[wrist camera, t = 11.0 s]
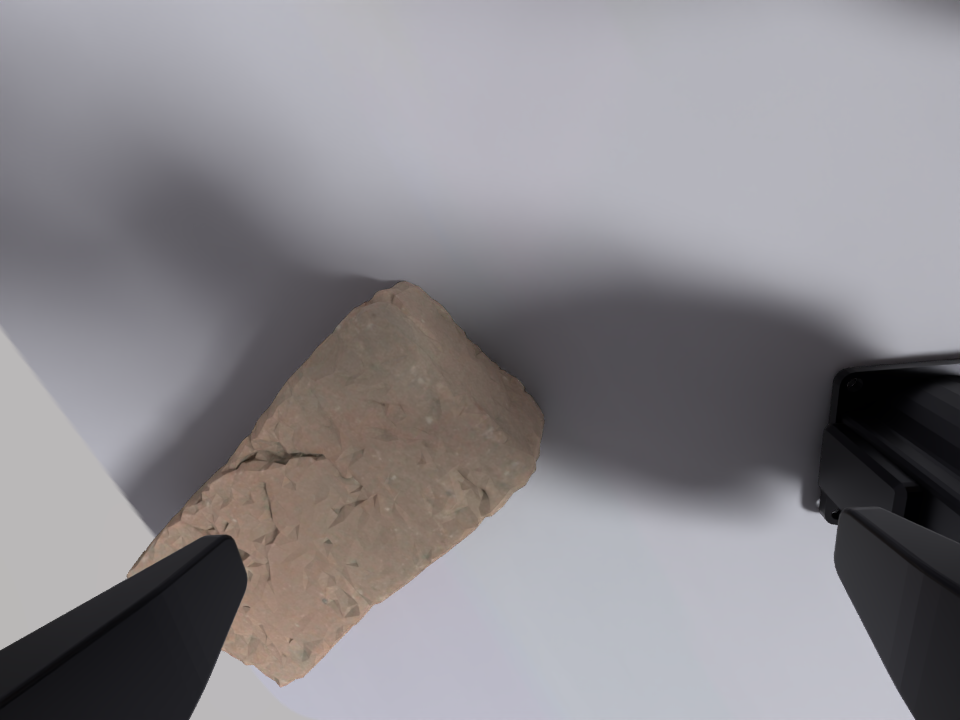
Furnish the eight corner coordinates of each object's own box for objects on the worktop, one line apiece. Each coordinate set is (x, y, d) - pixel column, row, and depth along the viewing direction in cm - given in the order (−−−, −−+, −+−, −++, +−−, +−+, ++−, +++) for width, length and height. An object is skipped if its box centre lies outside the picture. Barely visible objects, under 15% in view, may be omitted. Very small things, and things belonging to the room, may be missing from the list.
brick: (398, 266, 19) (355, 293, 14) (555, 409, 20) (559, 474, 16) (189, 512, 24) (112, 587, 20) (323, 611, 26) (279, 702, 21)
